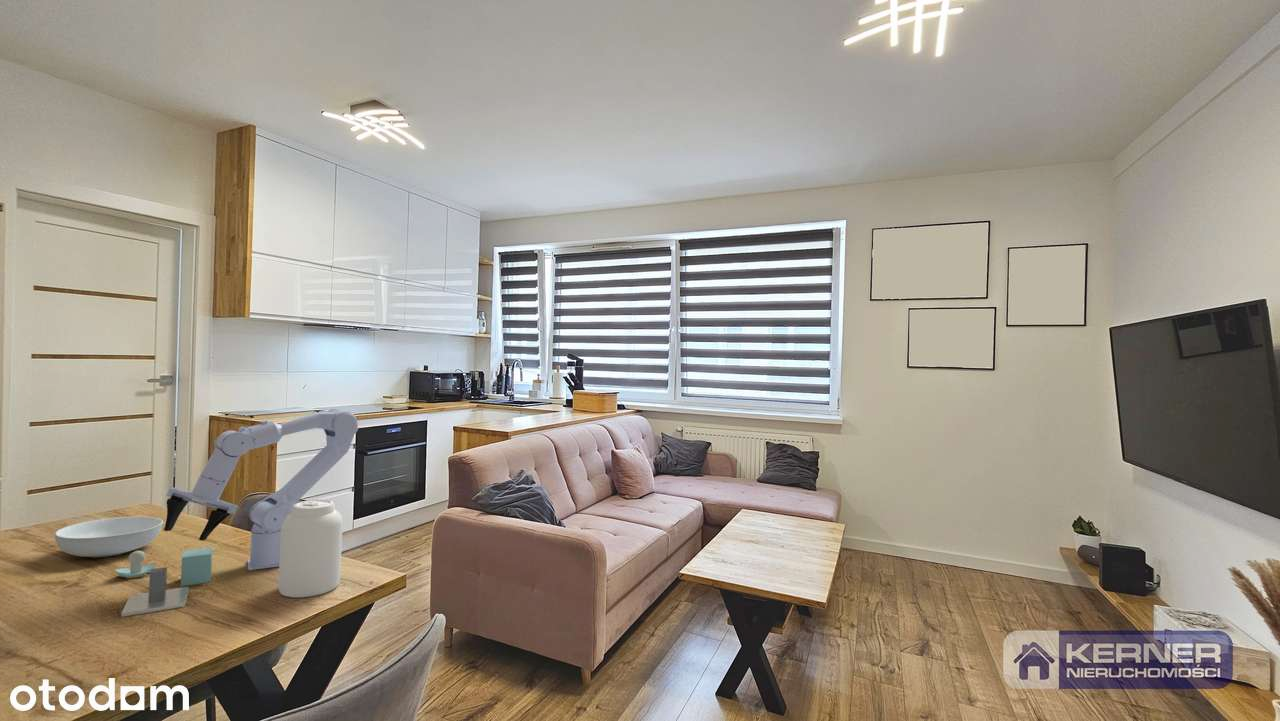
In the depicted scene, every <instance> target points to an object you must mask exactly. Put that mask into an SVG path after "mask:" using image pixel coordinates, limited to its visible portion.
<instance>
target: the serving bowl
mask: <svg viewBox="0 0 1280 721" xmlns="http://www.w3.org/2000/svg"><path fill="white" fill-rule="evenodd" d="M163 524H164V521H163V519H161V518H159V517H153V516H121V517H119V516H118V517H109V518H102V519H95V520H88V521H83V522H79V523H75V524H72V525H68V526H67V525H66V526H65V527H62V528H60V529H58V530H57V531H55V533H54V538H55V542H56V545H57V547H58V548H59V549H60V550H61V551H63V552H64V553H66V554H67V555H72V556H76V557H88V558H89V557H90V558H107V557H108V558H109V557H113V556H114V557H115V556H120V555H122V554H123V555H124V554H126V553H129V552H132V551H136V550H139V549H141V548H143V547H145V546H147V545H148V544H150V543H153V541H154V540H155V539H156V538H157V537H158V535H159V534H160V533H161V531H162V528H163Z"/></svg>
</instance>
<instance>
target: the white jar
mask: <svg viewBox="0 0 1280 721" xmlns="http://www.w3.org/2000/svg"><path fill="white" fill-rule="evenodd" d="M335 506H336V505H335V504H334V501H332V500H329V499H309V500H305V501H300V502H299V501H298V502H297V503H296V504H295V505H294V506H293V508H292V513H290V514H289V515H288V516H287V517H286V518H285V519H284V521H283V524H282V527H281V543H280V563H279V566H278V567H279V570H278V583H277V584H278V589H277V590H278V592H279V593H280V595H282V596H284V597H287V598H309V597H316V596H320V595H323V594H326V593H328V592H331V591H332V590H335V589H336V588H337V587H339V584H340V581H341V569H342V568H341V565H342V564H341V563H342V544H343V523H344V522H343V520H344V519H343V516H342V514H341V513H340V512H339V511H338V510H336V509H335Z"/></svg>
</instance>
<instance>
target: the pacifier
mask: <svg viewBox="0 0 1280 721" xmlns="http://www.w3.org/2000/svg"><path fill="white" fill-rule="evenodd" d="M145 558H146V553H145V552H144V551H142V550H134V551H133V552H131V553H130V554H129V555H128V562H129V563H130V566H129V568H128V567H126V568H123V567H121V568H116V569H115V573H116V574H117V576H118V577H121V578H125V579H134V578H139V577H144V576H146V575H147V574H150V572H151V569H156V566H157V565H158V564H157V563H150V564H146V565H143V561H144V560H145Z"/></svg>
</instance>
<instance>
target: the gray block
mask: <svg viewBox="0 0 1280 721" xmlns="http://www.w3.org/2000/svg"><path fill="white" fill-rule="evenodd" d="M167 574H168V567H167V566H165V567H158V568H154V569H151V572H149V581H148V585H149V586H148V592H143V593H136V594H135V593H134V594H130V595H129V597H128V599H127V601H126V603H125V605H124V607H123V609H122V611H121V614H120V615H121V618H122V617H128V616H129V617H130V616H136V615H141V614H142V615H143V614H149V613H155V612H160V611H166V610H172V609H178V608H184V607H186V606H185V605H186V602H187V597H188V595H189V592H190V587H189V586H181V587H175V588H169V589H167V578H168V575H167Z"/></svg>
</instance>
